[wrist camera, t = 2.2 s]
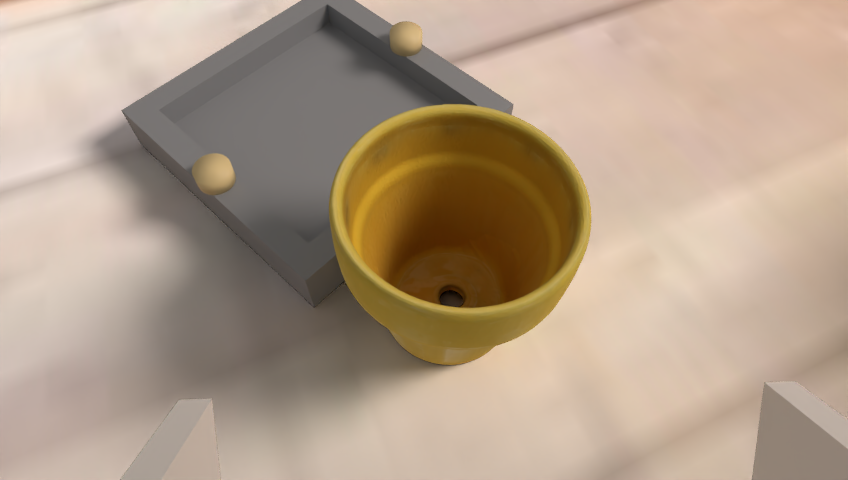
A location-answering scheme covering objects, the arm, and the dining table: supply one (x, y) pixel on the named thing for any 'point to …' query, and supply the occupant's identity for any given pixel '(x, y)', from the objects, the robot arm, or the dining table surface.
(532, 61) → the dining table surface
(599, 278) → the dining table surface
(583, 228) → the plant pot
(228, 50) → the base
